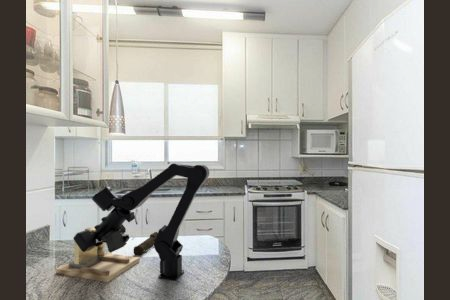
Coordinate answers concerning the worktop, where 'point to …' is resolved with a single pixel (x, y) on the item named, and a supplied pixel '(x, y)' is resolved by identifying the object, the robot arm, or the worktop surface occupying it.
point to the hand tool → (145, 244)
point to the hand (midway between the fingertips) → (88, 249)
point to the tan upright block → (85, 257)
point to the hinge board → (101, 266)
